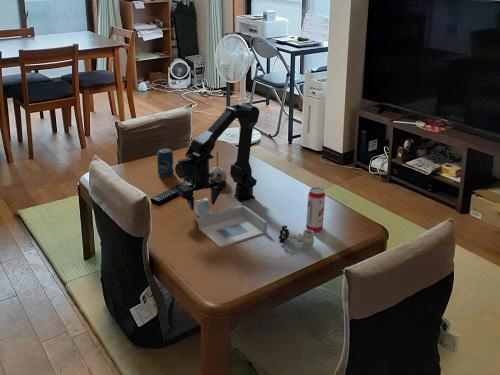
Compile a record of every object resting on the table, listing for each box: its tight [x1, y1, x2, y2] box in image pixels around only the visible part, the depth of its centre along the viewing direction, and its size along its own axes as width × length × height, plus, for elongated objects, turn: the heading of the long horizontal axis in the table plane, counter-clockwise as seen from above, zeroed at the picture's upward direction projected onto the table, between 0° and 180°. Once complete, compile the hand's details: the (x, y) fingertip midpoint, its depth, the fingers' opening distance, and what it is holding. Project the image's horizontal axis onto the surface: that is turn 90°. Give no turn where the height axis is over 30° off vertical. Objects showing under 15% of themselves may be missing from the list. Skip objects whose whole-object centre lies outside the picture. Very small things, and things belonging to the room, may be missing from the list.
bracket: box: [194, 197, 213, 218], centre depth 223 cm, size 8×5×6 cm, turn 34°
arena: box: [197, 204, 268, 248], centre depth 214 cm, size 20×16×5 cm
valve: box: [278, 224, 315, 252], centre depth 205 cm, size 7×7×12 cm
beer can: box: [305, 187, 326, 233], centre depth 214 cm, size 6×6×16 cm
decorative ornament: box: [209, 151, 228, 184], centre depth 248 cm, size 8×8×15 cm
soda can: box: [156, 147, 175, 179], centre depth 256 cm, size 7×7×12 cm
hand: (202, 207), depth 225 cm, fingers open, 9 cm apart
